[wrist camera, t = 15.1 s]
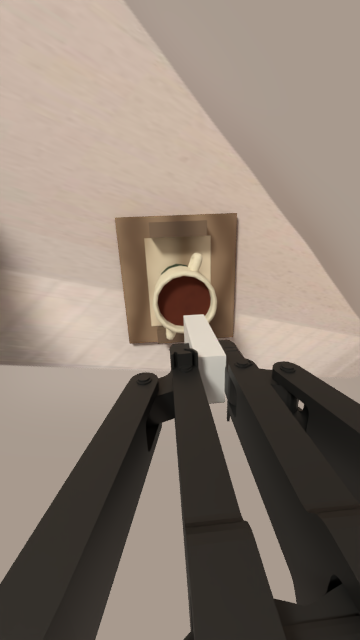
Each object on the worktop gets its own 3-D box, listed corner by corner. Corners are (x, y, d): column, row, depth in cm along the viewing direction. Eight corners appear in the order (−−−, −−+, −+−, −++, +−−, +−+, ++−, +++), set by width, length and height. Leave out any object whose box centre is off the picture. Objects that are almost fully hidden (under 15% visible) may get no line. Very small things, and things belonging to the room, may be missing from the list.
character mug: (187, 320, 40) (198, 356, 28) (146, 307, 39) (139, 339, 27) (211, 257, 37) (234, 266, 25) (168, 241, 36) (170, 243, 24)
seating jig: (130, 341, 42) (127, 351, 38) (116, 218, 36) (110, 215, 32) (231, 334, 43) (237, 344, 39) (235, 213, 37) (243, 210, 33)
